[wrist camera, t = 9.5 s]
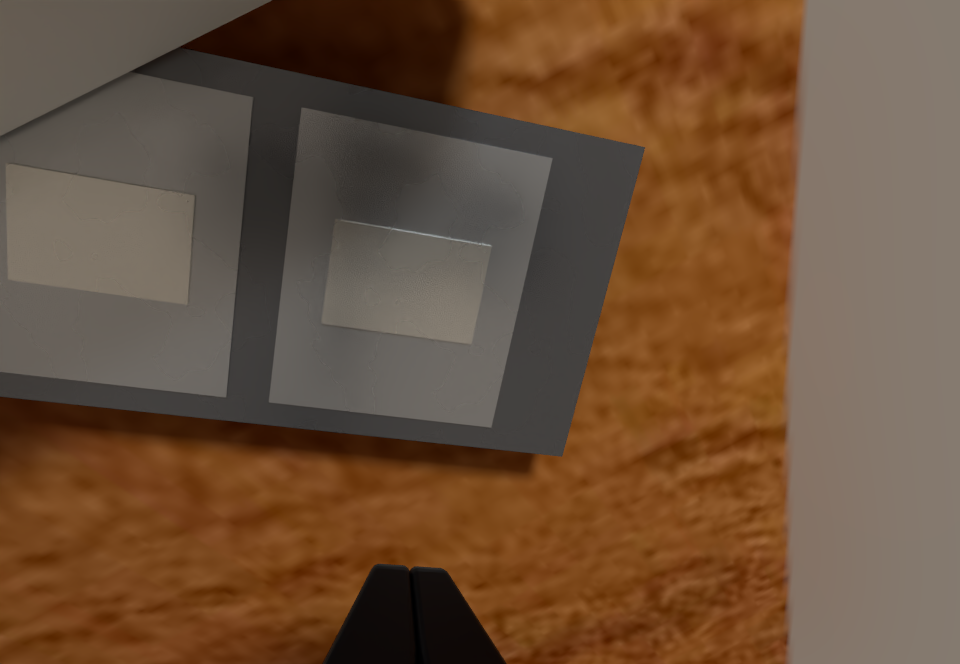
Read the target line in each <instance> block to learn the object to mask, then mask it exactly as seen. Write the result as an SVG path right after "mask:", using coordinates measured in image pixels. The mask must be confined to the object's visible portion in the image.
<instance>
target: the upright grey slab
mask: <svg viewBox="0 0 960 664" xmlns="http://www.w3.org/2000/svg"><path fill="white" fill-rule="evenodd" d="M270 1H272V0H0V136H1V135H3V134H5V133H7V132H9V131H11V130H13V129H15V128H17V127H19V126H21V125H23V124H25V123H27V122H29V121H31V120H33V119H35V118H37V117H39V116H41V115H43V114H45V113H47V112H49V111H51V110H54V109H56V108H58V107H60V106H62V105H64V104H66V103H68V102H70V101H72V100H74V99H76V98H78V97H80V96H82V95H84V94H86V93H88V92H90V91H92V90H94V89H96V88H98V87H100V86H102V85H104V84H106V83H108V82H110V81H112V80H114V79H116V78H118V77H120V76H122V75H124V74H126V73H128V72H130V71H132V70H134V69H136V68H138V67H140V66H142V65H144V64H146V63H148V62H150V61H152V60H154V59H156V58H158V57H160V56H162V55H164V54H166V53H168V52H170V51H172V50H174V49H176V48H178V47H180V46H182V45H184V44H186V43H188V42H190V41H192V40H194V39H196V38H198V37H200V36H202V35H204V34H206V33H208V32H210V31H212V30H214V29H216V28H218V27H220V26H222V25H224V24H226V23H228V22H230V21H232V20H234V19H236V18H238V17H240V16H242V15H244V14H246V13H248V12H250V11H252V10H254V9H256V8H258V7H260V6H262V5H264V4H266V3H268V2H270Z"/></svg>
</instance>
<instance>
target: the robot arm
mask: <svg viewBox="0 0 960 664" xmlns="http://www.w3.org/2000/svg"><path fill="white" fill-rule="evenodd" d="M322 664H506V662H505V661H504V659H503V657H502V656H501V654H500V653H499V651H498V650H497V648H496V647H495V645H494V644H493V642H492V640H491V639H490V637H489V636H488V634H487V633H486V631H485V630H484V628H483V626H482V625H481V623H480V622H479V620H478V619H477V617H476V616H475V614H474V613H473V611H472V609H471V608H470V606H469V605H468V603H467V602H466V600H465V599H464V597H463V595H462V594H461V592H460V591H459V589H458V588H457V586H456V585H455V583H454V582H453V580H452V578H451V577H450V575H449V574H448V572H447V571H445V570H444V569H442V568H431V567H413V568H412V569H411V570H410V571H409V569H408V568H407V567H406V566H403V565H389V564H377V565H375V566H374V567H373V568H372V569H371V571H370V573H369V575H368V577H367V579H366V581H365V583H364V585H363V587H362V588H361V590H360V592H359V594H358V596H357V598H356V600H355V602H354V604H353V606H352V608H351V610H350V612H349V613H348V615H347V617H346V619H345V621H344V623H343V625H342V627H341V629H340V631H339V633H338V635H337V637H336V638H335V640H334V642H333V644H332V646H331V648H330V650H329V652H328V654H327V656H326V658H325V660H324V662H323V663H322Z"/></svg>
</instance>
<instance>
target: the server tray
mask: <svg viewBox="0 0 960 664" xmlns="http://www.w3.org/2000/svg"><path fill="white" fill-rule="evenodd" d="M644 149H645V147H641V146H636V145H632V144H627V143H622V142H618V141H613V140H608V139H604V138H599V137H594V136H590V135H585V134H580V133H576V132H571V131H566V130H562V129H557V128H552V127H548V126H543V125H538V124H534V123H529V122H524V121H520V120H515V119H510V118H506V117H501V116H496V115H492V114H487V113H482V112H478V111H473V110H469V109H464V108H459V107H455V106H450V105H445V104H441V103H436V102H431V101H427V100H422V99H417V98H413V97H408V96H403V95H399V94H394V93H389V92H385V91H380V90H375V89H371V88H366V87H361V86H357V85H352V84H347V83H343V82H338V81H333V80H329V79H324V78H319V77H315V76H310V75H305V74H301V73H296V72H291V71H287V70H282V69H277V68H273V67H268V66H264V65H259V64H254V63H250V62H245V61H240V60H236V59H231V58H226V57H222V56H217V55H212V54H208V53H203V52H198V51H194V50H189V49H184V48H180V47H178V48H176V49H174V50H172V51H170V52H168V53H166V54H164V55H162V56H160V57H158V58H156V59H154V60H152V61H150V62H148V63H146V64H144V65H142V66H140V67H138V68H136V69H134V70H132V71H130V72H128V73H126V74H124V75H122V76H120V77H118V78H116V79H114V80H112V81H110V82H108V83H106V84H104V85H102V86H100V87H98V88H96V89H94V90H92V91H90V92H88V93H86V94H84V95H82V96H80V97H78V98H76V99H74V100H72V101H70V102H68V103H66V104H64V105H62V106H60V107H58V108H56V109H54V110H51V111H49V112H47V113H45V114H43V115H41V116H39V117H37V118H35V119H33V120H31V121H29V122H27V123H25V124H23V125H21V126H19V127H17V128H15V129H13V130H11V131H9V132H7V133H5V134H3V135H1V136H0V397H9V398H19V399H28V400H37V401H47V402H56V403H65V404H75V405H84V406H94V407H103V408H112V409H122V410H131V411H140V412H150V413H159V414H169V415H178V416H187V417H197V418H206V419H216V420H225V421H234V422H244V423H253V424H262V425H272V426H281V427H291V428H300V429H309V430H319V431H328V432H337V433H347V434H356V435H366V436H375V437H384V438H394V439H403V440H413V441H422V442H431V443H441V444H450V445H459V446H469V447H478V448H488V449H497V450H506V451H516V452H525V453H534V454H544V455H553V456H562V455H563V451H564V447H565V444H566V440H567V436H568V433H569V429H570V425H571V421H572V418H573V414H574V410H575V406H576V403H577V399H578V395H579V392H580V388H581V384H582V380H583V377H584V373H585V369H586V365H587V362H588V358H589V354H590V351H591V347H592V343H593V339H594V336H595V332H596V328H597V324H598V321H599V317H600V313H601V310H602V306H603V302H604V298H605V295H606V291H607V287H608V283H609V280H610V276H611V272H612V269H613V265H614V261H615V257H616V254H617V250H618V246H619V242H620V239H621V235H622V231H623V228H624V224H625V220H626V216H627V213H628V209H629V205H630V201H631V198H632V194H633V190H634V187H635V183H636V179H637V175H638V172H639V168H640V164H641V160H642V157H643V153H644Z"/></svg>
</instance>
